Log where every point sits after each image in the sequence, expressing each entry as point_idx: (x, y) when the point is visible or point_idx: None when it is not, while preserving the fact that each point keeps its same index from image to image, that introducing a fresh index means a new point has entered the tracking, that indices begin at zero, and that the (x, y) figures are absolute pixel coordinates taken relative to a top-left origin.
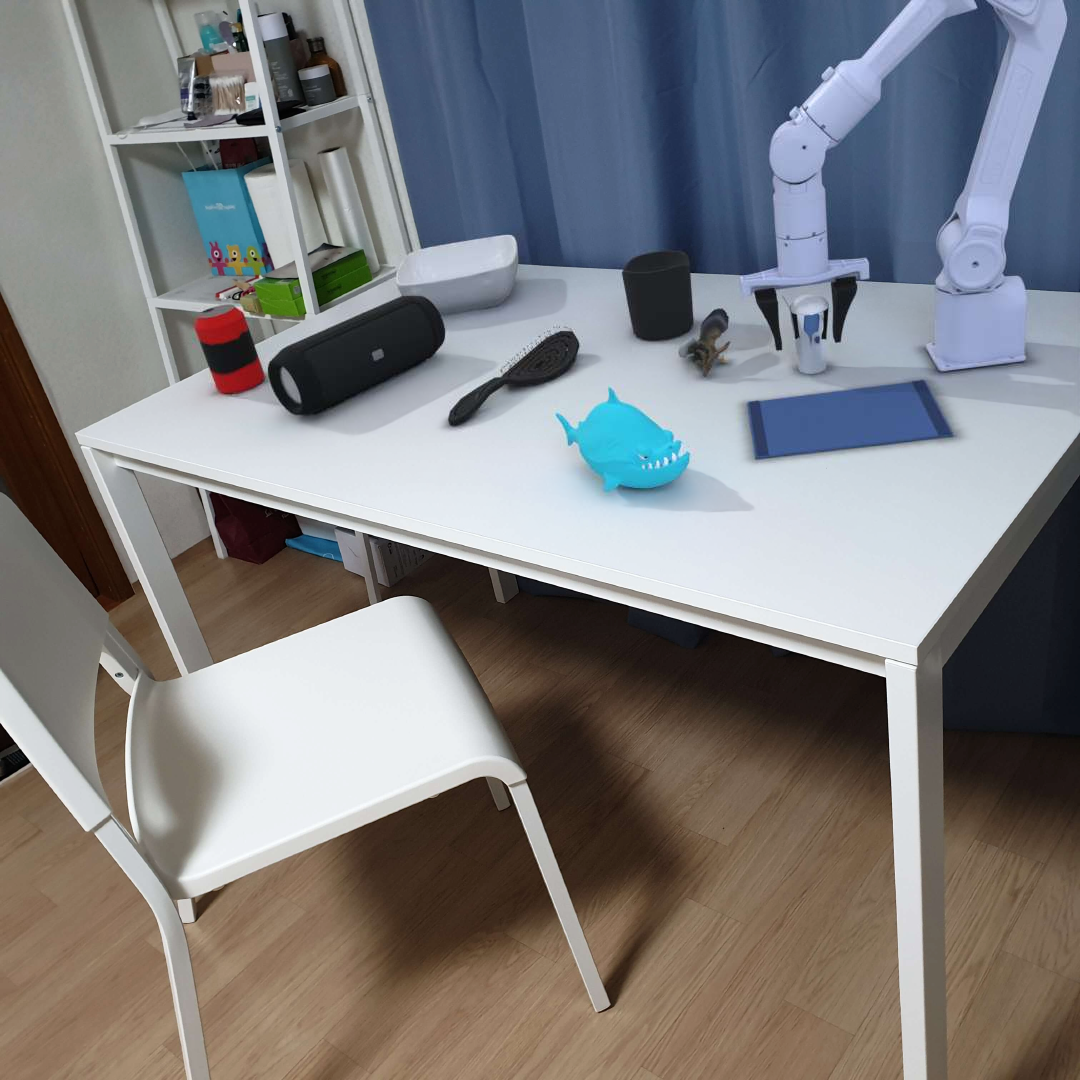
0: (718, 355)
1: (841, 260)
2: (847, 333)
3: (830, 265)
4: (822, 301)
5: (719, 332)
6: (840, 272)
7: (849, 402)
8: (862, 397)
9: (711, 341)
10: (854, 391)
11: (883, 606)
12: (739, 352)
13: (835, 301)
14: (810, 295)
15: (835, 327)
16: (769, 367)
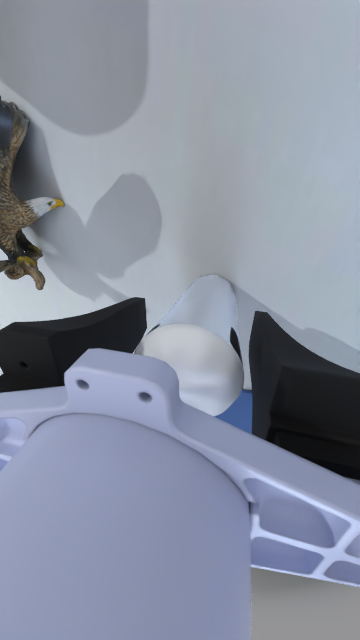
0: (39, 217)
1: (349, 526)
2: (357, 92)
3: (259, 532)
4: (218, 412)
5: (1, 157)
6: (280, 552)
7: (231, 418)
8: (251, 415)
9: (2, 202)
10: (247, 398)
11: None
12: (79, 144)
13: (254, 424)
14: (189, 375)
15: (251, 366)
16: (141, 256)
